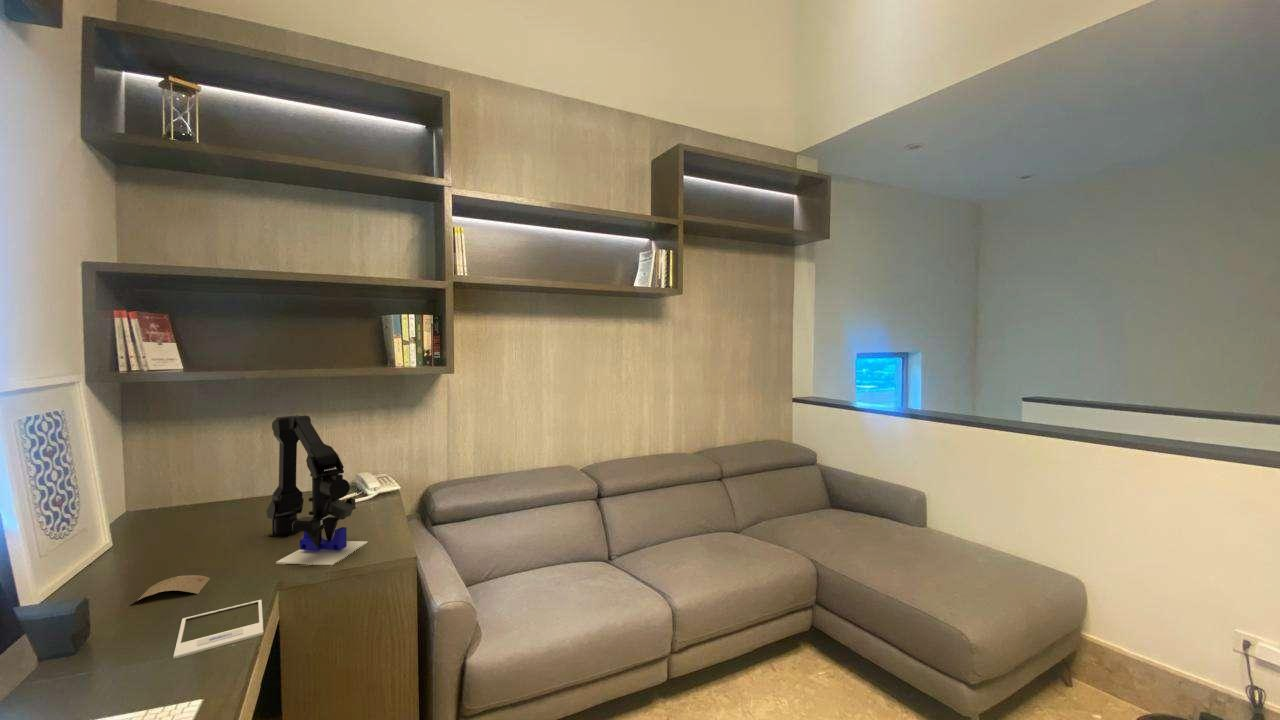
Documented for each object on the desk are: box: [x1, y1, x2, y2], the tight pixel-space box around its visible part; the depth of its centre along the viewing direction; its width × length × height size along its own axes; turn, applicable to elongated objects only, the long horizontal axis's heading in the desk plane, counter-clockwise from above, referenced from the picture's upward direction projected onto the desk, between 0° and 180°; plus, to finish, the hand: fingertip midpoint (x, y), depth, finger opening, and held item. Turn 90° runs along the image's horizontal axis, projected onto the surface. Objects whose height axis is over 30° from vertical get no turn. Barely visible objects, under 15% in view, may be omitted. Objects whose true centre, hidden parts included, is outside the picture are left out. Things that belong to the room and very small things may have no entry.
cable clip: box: [299, 526, 348, 551], centre depth 156 cm, size 12×4×6 cm, turn 81°
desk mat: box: [275, 540, 369, 566], centre depth 156 cm, size 17×17×1 cm
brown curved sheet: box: [133, 574, 211, 604], centre depth 131 cm, size 14×10×3 cm
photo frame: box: [173, 599, 264, 660], centre depth 115 cm, size 15×1×18 cm
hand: (323, 543), depth 156 cm, fingers closed on cable clip, 5 cm apart
